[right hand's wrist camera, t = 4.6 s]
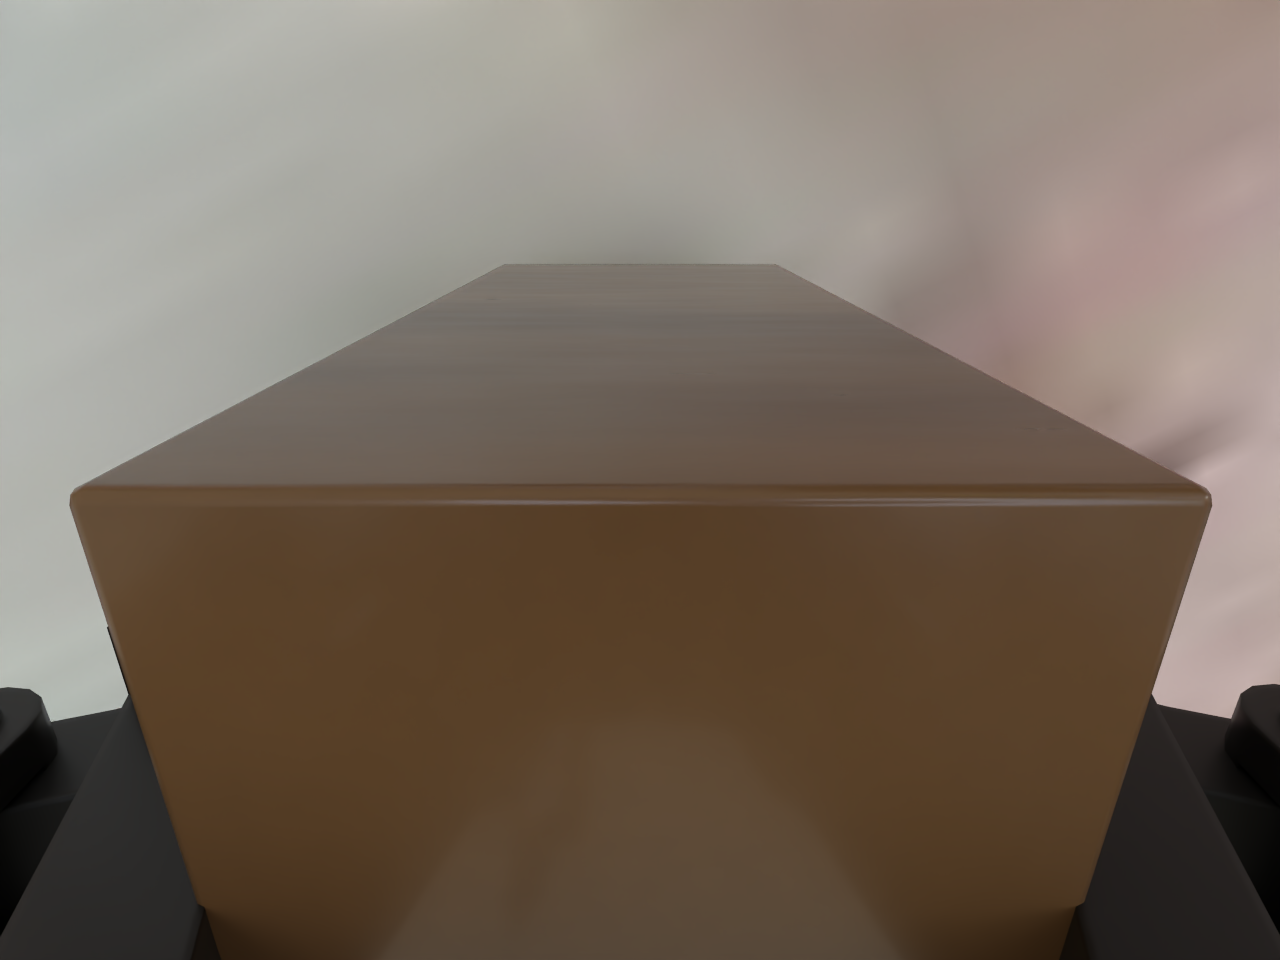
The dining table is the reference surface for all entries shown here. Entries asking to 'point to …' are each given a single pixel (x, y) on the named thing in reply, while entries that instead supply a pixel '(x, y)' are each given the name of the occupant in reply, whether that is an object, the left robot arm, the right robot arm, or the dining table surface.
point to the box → (640, 633)
